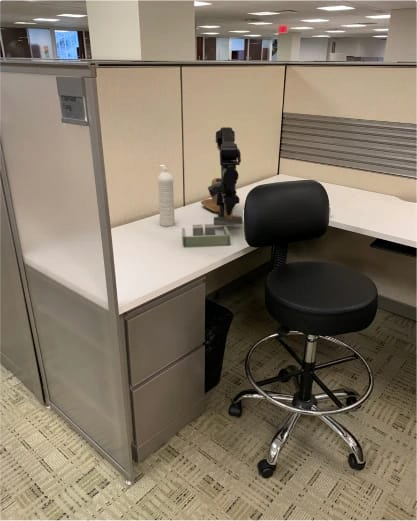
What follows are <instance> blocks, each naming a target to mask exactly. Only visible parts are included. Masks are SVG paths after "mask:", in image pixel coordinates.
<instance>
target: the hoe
mask: <svg viewBox="0 0 417 521" xmlns="http://www.w3.org/2000/svg"><path fill="white" fill-rule="evenodd" d="M232 216H233V217H232ZM213 224H214V225H215V227H217V226H223V227H224V226H238V225H239V226H242V225H243V216H241V215H240V216H239V215H238V216H237V215H236V216H234V215H233V211H232V212H231V214H230V215H227V210H226V204H224V217H218V216H214V217H213Z"/></svg>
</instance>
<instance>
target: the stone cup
mask: <svg viewBox="0 0 417 521" xmlns="http://www.w3.org/2000/svg"><path fill="white" fill-rule="evenodd" d="M220 180H221V177H215V178H213V179H212V181H211V183H210V184H211V185H210V186H212V185H215V184H218V183H220ZM216 196H217V195H215V196H213V197H211V198H207V199H206V198H205V199H203V200H201V201H200V204H201V205H202V206H204V207H205V208H207V209H208V210H210V211H213V212H215V213H219V206H217V204H216ZM218 202H219V201H218Z"/></svg>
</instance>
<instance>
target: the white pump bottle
mask: <svg viewBox="0 0 417 521" xmlns="http://www.w3.org/2000/svg"><path fill="white" fill-rule="evenodd" d="M159 169H161V171H160V174H159V175H158V177H157V188H158V190H157V191H158V205H159V206H158V209H159V224H160V226H163V227H171V226H174V225H175V224H176V222H175V220H176V218H175V198H174V197H175V196H174V177H173V176H172V174H171V173H170V171H169V169H168V167H167V166H166V164H160V165H159Z"/></svg>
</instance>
